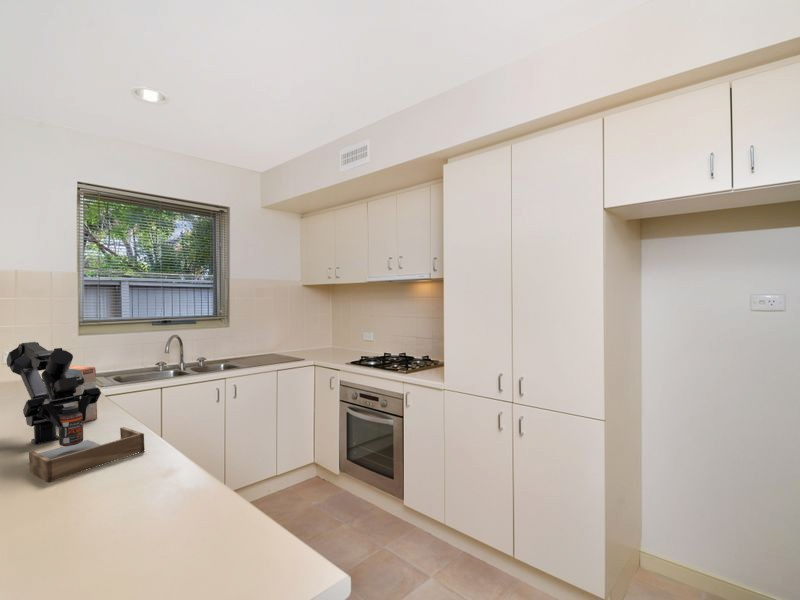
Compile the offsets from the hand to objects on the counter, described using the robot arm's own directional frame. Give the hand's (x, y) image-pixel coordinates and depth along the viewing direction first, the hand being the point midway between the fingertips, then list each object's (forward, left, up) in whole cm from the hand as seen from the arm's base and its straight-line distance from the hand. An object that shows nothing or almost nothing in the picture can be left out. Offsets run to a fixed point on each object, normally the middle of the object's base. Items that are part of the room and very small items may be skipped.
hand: (72, 423), depth 128 cm
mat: (-2, 0, -9) cm, 10 cm away
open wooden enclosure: (+11, +1, -9) cm, 14 cm away
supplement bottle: (-1, 0, -7) cm, 7 cm away
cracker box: (-43, +11, -10) cm, 46 cm away
